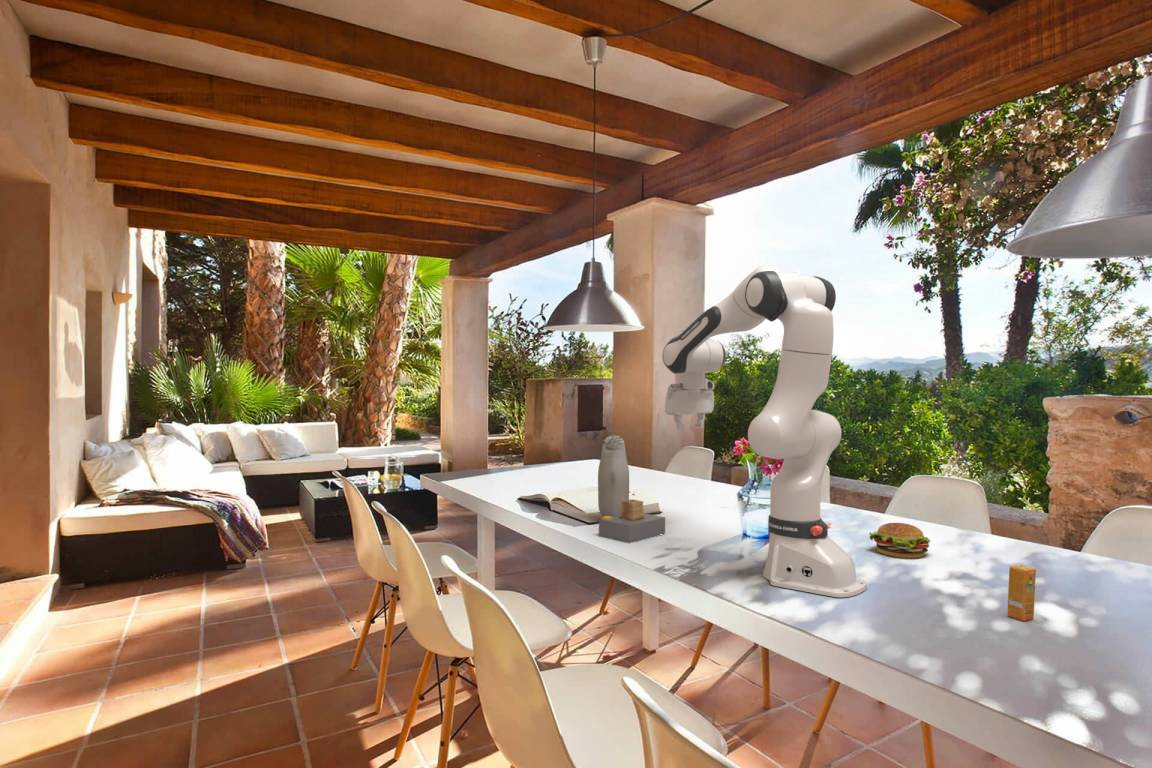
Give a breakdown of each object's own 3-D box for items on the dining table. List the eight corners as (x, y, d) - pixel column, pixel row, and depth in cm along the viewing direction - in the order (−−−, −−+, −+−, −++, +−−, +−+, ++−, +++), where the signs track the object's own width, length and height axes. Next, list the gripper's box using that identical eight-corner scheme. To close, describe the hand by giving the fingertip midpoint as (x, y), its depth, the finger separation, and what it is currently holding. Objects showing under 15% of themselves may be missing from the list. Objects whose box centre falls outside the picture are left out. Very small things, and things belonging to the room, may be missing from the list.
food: (898, 544, 184) (898, 516, 184) (940, 557, 171) (940, 527, 171) (858, 548, 180) (858, 519, 180) (898, 562, 167) (898, 530, 167)
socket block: (665, 534, 196) (665, 515, 196) (629, 543, 185) (629, 523, 185) (634, 527, 205) (634, 509, 205) (598, 535, 194) (598, 517, 194)
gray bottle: (595, 518, 218) (596, 434, 218) (626, 517, 220) (626, 433, 219) (600, 524, 209) (600, 436, 208) (631, 523, 210) (632, 436, 210)
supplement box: (1024, 622, 125) (1025, 569, 125) (1006, 616, 128) (1007, 565, 128) (1036, 619, 126) (1036, 567, 126) (1017, 613, 130) (1018, 563, 129)
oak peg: (643, 531, 195) (643, 501, 195) (632, 534, 192) (633, 503, 192) (631, 529, 198) (631, 499, 198) (621, 531, 195) (621, 501, 195)
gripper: (676, 383, 190) (676, 431, 190) (717, 383, 204) (717, 428, 204) (659, 383, 194) (659, 430, 194) (700, 383, 208) (700, 427, 208)
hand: (689, 429), depth 199 cm, fingers open, 8 cm apart
